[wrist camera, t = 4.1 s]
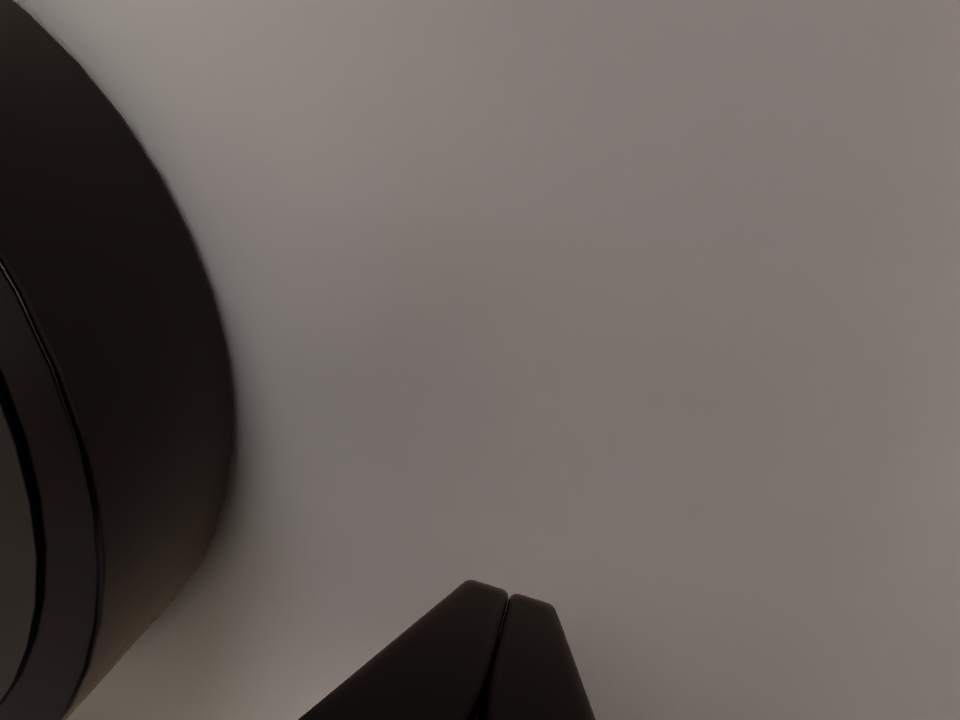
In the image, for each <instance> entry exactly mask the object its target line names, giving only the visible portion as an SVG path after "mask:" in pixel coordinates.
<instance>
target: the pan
mask: <svg viewBox="0 0 960 720" xmlns="http://www.w3.org/2000/svg"><path fill="white" fill-rule="evenodd" d="M232 449H233V398H232V391H231V383H230V376H229V368H228V360H227V353H226V346H225V342H224V338H223V334H222V330H221V326H220V322H219V318H218V315H217V311H216V307H215V303H214V299H213V295H212V291H211V288H210V286H209V283H208V281H207V278H206V275H205V273H204V270H203V267H202V265H201V262H200V260H199V257H198V254H197V252H196V249H195V246H194V244H193V241H192V239H191V236H190V233H189V231H188V229H187V227H186V225H185V223H184V221H183V219H182V217H181V216H180V214H179V212H178V210H177V208H176V206H175V204H174V202H173V200H172V198H171V196H170V194H169V192H168V190H167V188H166V186H165V184H164V182H163V180H162V178H161V176H160V174H159V173H158V171H157V170H156V168H155V167H154V165H153V164H152V162H151V161H150V159H149V157H148V156H147V154H146V153H145V151H144V150H143V148H142V147H141V145H140V144H139V142H138V141H137V139H136V137H135V136H134V134H133V133H132V131H131V130H130V128H129V127H128V125H127V124H126V122H125V121H124V119H123V117H122V116H121V115H120V114H119V113H118V111H117V110H116V109H115V108H114V106H113V105H112V104H111V103H110V101H109V100H108V99H107V98H106V96H105V95H104V94H103V93H102V91H101V90H100V89H99V88H98V87H97V85H96V84H95V83H94V82H93V80H92V79H91V78H90V77H89V75H88V74H87V73H86V72H85V70H84V69H83V68H82V67H81V65H80V64H79V63H78V62H77V61H76V60H75V59H74V58H73V57H72V56H71V55H70V54H69V53H68V52H67V51H66V50H65V49H64V48H63V47H62V46H61V45H60V44H59V43H58V42H57V41H56V40H55V39H54V38H53V37H52V36H51V35H50V34H49V33H48V32H47V31H46V30H45V29H44V28H43V27H42V26H41V25H40V24H39V23H38V22H37V21H36V20H35V19H34V18H33V17H32V16H31V15H30V14H29V13H27V12H26V11H25V10H24V9H23V8H21V7H20V6H19V5H18V4H16V3H15V2H14V1H13V0H0V720H66V719H67V718H68V717H69V716H70V715H71V714H72V712H73V711H74V710H75V709H76V708H77V707H78V706H79V705H80V704H81V702H82V701H83V700H84V699H85V698H86V697H87V696H88V695H89V693H90V692H91V691H92V690H93V689H94V688H95V687H96V686H97V685H98V683H99V682H100V681H101V680H102V679H103V678H104V677H105V676H106V674H107V673H108V672H109V671H110V670H111V669H112V668H113V667H114V665H115V664H116V663H117V662H118V661H119V660H120V659H121V658H122V657H123V655H124V654H125V653H126V652H127V651H128V650H129V649H130V648H131V646H132V645H133V644H134V643H135V642H136V641H137V640H138V639H139V638H140V636H141V635H142V634H143V633H144V632H145V631H146V630H147V629H148V627H149V626H150V625H151V624H152V623H153V622H154V621H155V620H156V619H157V617H158V616H159V615H160V614H161V613H162V612H163V611H164V610H165V608H166V607H167V606H168V605H169V604H170V603H171V602H172V601H173V600H174V598H175V597H176V596H177V594H178V593H179V592H180V590H181V589H182V588H183V586H184V585H185V584H186V582H187V581H188V580H189V578H190V577H191V576H192V575H193V573H194V572H195V571H196V569H197V567H198V565H199V563H200V561H201V559H202V557H203V555H204V553H205V551H206V549H207V547H208V545H209V543H210V541H211V539H212V537H213V535H214V532H215V528H216V525H217V522H218V519H219V516H220V512H221V509H222V506H223V503H224V499H225V496H226V491H227V484H228V477H229V470H230V463H231V456H232Z"/></svg>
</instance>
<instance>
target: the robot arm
mask: <svg viewBox="0 0 960 720" xmlns="http://www.w3.org/2000/svg"><path fill="white" fill-rule="evenodd" d="M507 603H508V605H507ZM506 607H507V608H506ZM505 610H506V612H505ZM504 614H505V616H504ZM503 618H504V619H503ZM502 622H503V623H502ZM501 626H502V627H501ZM499 633H500V634H499ZM498 637H499V638H498ZM476 719H477V720H596V719H595V717H594V714H593V711H592V708H591V706H590V703H589V700H588V698H587V695H586V692H585V689H584V687H583V684H582V681H581V678H580V676H579V673H578V670H577V667H576V665H575V662H574V659H573V656H572V654H571V651H570V648H569V645H568V643H567V640H566V637H565V634H564V632H563V629H562V626H561V623H560V621H559V618H558V615H557V613H556V610H555V608H554V607H553V606H552V605H551V604H549V603H547V602H543V601H540V600H537V599H534V598H530V597H527V596H524V595H520V594H514V595H512V596H511V597H510V598H509V601H508V593H507V592H506V591H505V590H503V589H501V588H497V587H494V586H491V585H488V584H484V583H481V582H478V581H475V580H468V581H465V582H464V583H463V584H461V585H460V586H459V587H458V588H456V589H455V590H454V591H453V592H452V593H450V594H449V595H448V596H447V597H446V598H444V599H443V600H442V601H441V602H440V603H438V604H437V605H436V606H435V607H434V608H432V609H431V610H430V611H429V612H427V613H426V614H425V615H424V616H423V617H421V618H420V619H419V620H418V621H417V622H415V623H414V624H413V625H412V626H411V627H409V628H408V629H407V630H406V631H405V632H403V633H402V634H401V635H400V636H399V637H397V638H396V639H395V640H394V641H392V642H391V643H390V644H389V645H388V646H386V647H385V648H384V649H383V650H382V651H380V652H379V653H378V654H377V655H376V656H374V657H373V658H372V659H371V660H370V661H368V662H367V663H366V664H365V665H364V666H362V667H361V668H360V669H359V670H357V671H356V672H355V673H354V674H353V675H351V676H350V677H349V678H348V679H347V680H345V681H344V682H343V683H342V684H341V685H339V686H338V687H337V688H336V689H335V690H333V691H332V692H331V693H330V694H329V695H327V696H326V697H325V698H324V699H322V700H321V701H320V702H319V703H318V704H316V705H315V706H314V707H313V708H312V709H310V710H309V711H308V712H307V713H306V714H304V715H303V716H302V717H301V718H300V719H298V720H476Z"/></svg>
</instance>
